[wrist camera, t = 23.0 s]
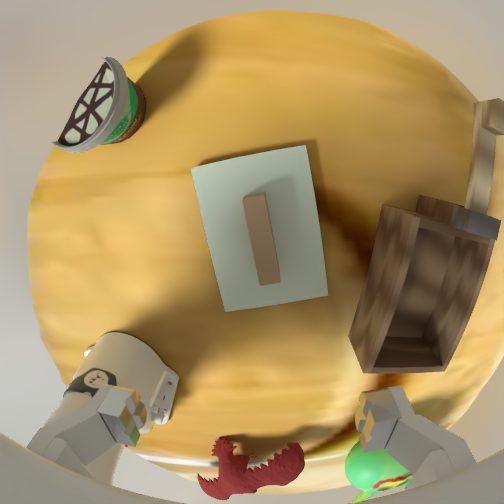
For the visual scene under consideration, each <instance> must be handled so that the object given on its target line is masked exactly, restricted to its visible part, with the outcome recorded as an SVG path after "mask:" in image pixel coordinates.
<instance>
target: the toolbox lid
mask: <svg viewBox="0 0 504 504" xmlns="http://www.w3.org/2000/svg"><path fill="white" fill-rule="evenodd" d="M191 172H192V177H193V181H194V186H195V191H196V195H197V199H198V204H199V208H200V213H201V217H202V221H203V226H204V230H205V234H206V238H207V242H208V247H209V251H210V255H211V259H212V263H213V267H214V271H215V275H216V279H217V282H218V286H219V290H220V294H221V298H222V302H223V305H224V309H225V312H230V311H237V310H244V309H251V308H258V307H264V306H271V305H277V304H283V303H289V302H295V301H301V300H307V299H312V298H318V297H323V296H328V288H327V279H326V270H325V262H324V254H323V247H322V239H321V232H320V225H319V218H318V212H317V206H316V199H315V193H314V188H313V182H312V176H311V171H310V165H309V160H308V155H307V150H306V145H303V146H296V147H290V148H284V149H278V150H273V151H267V152H262V153H256V154H251V155H246V156H241V157H237V158H232V159H227V160H223V161H218V162H214V163H210V164H206V165H201V166H197V167H193V168H191Z"/></svg>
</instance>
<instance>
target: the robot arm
mask: <svg viewBox="0 0 504 504" xmlns="http://www.w3.org/2000/svg"><path fill="white" fill-rule="evenodd" d="M84 355H85V359H84V360H83V362H82V363H81V365H80V367H79V368H78V370H77V371H76V373H75V374H74V377H73V379H74V380H73V382H72V383H70V384H69V386H68V387H67V390H66V391H65V393H64V396H63V400H62V401H61V402H60V404H59V405H58V406H57V407H56V409H55V410H54V411H53V413H52V414H51V415H50V417H49V418H48V420H47V421H46V422H45V424H44V426H43V427H42V428H40V429H39V430H38V432H37V433H36V435H35V436H34V437H33V439H32V440H31V442H30V443H29V444H28V446H27V447H26V448H25V447H24V446H22V445H20V444H18V443H17V442H15V441H13V440H12V439H10V438H9V437H7V436H5V435H4V434H2V433H1V432H0V504H185V503H179V502H174V501H169V500H164V499H159V498H155V497H150V496H146V495H142V494H138V493H134V492H131V491H128V490H124V489H121V488H118V487H115V486H113V477H114V473H115V469H116V467H117V463H118V461H119V458H120V455H121V453H122V451H123V448H124V446H127V445H129V446H134V447H135V446H136V443H137V441H138V439H139V437H140V434H145V433H149V432H151V430H152V428H153V426H154V424H166V423H167V422H168V420H169V417H170V413H171V409H172V405H173V401H174V397H175V393H176V389H177V385H178V381H179V376H178V374H177V373H175V372H174V371H173V370H172V369H170V368H169V367H167V366H166V365H165V364H164V363H163V362H162V360H161V359H160V358H159V356H158V355H157V354H156V353H155V352H154V351H153V350H152V349H151V348H150V347H149V346H148V345H146V344H145V343H144V342H142V341H141V340H139V339H137V338H135V337H133V336H131V335H128V334H124V333H119V332H111V333H107V334H104V335H103V336H101V337H100V338H99V339H98V341H97V342H96V344H95V345H94V346H91V347H89V348H87V349H86V351H85V353H84ZM171 382H172V383H171ZM359 401H360V405H359V406H358V407H357V409H356V413H355V423H356V428H357V431H359V432H360V433H361V436H360V439H359V440H360V443H361V447H362V451H363V453H364V452H370V451H376V450H382V449H385V451H386V452H387V453H388V454H390V455H391V456H392V457H393V458H394V459H395V460H396V461H398V462H399V463H400V464H401V465H402V466H403V467H405V468H406V469H407V470H408V471H409V472H410V473H412V474H413V475H414V476H413V478H412V479H411V480H410V482H409V483H408V484H407V486H406V487H405V491H403V492H399V493H395V494H391V495H387V496H383V497H379V498H375V499H370V500H365V501H360V502H355V503H349V504H504V449H502V450H500V451H499V452H497V453H495V454H493V455H491V456H489V457H488V458H486V459H484V460H482V461H480V462H478V463H476V461H475V459H474V457H473V455H472V453H471V452H470V450H469V448H468V446H467V444H466V442H465V440H464V439H462V438H461V437H458V436H457V435H455V434H453V433H451V432H450V431H448V430H446V429H444V428H443V427H441V426H439V425H437V424H436V423H434V422H432V421H430V420H429V419H427V418H425V417H423V416H422V415H420V414H417V415H416V414H415V412H414V410H413V408H412V406H411V404H410V402H409V400H408V398H407V396H406V394H405V392H404V390H403V388H402V387H401V386H394V387H389V388H383V389H377V390H371V391H365V392H361V394H360V397H359ZM127 447H128V446H127Z"/></svg>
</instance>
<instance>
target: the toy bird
mask: <svg viewBox="0 0 504 504" xmlns="http://www.w3.org/2000/svg"><path fill="white" fill-rule="evenodd" d="M345 473H346V476H347V478H348V480H349V481H350V483H351V484H352V485H354V486H355V487H357V488H359V489H361V490H362V491H361V493H360V494H359V495H358V496H357V497H356V498H355V499H354V500H353V501H352V502H351V503H355V502H360V501H364V500H366V499H368V498H370V497H371V496H373V495H374V494H376V493H378V492H380V491H384V490H389V489H392V488H395V487H398V486H407V484H408V483H409V482H410V480H411V479H412V478H413V476H414V475H413V474H412V473H410V472H409V471H408V470H407V469H406V468H405V467H403V466H402V465H401V464H400V463H399V462H398V461H396V460H395V459H394V458H393V457H392V456H391V455H390V454H388V453H387V452H386V451H385V449H382V450H376V451H370V452H364V453H363V451H362V447H361V443H360V441H359V442H357V443H356V444H355V445H354V446H353V448H352V449H351V450H350V452H349V454H348V456H347V458H346V462H345Z"/></svg>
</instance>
